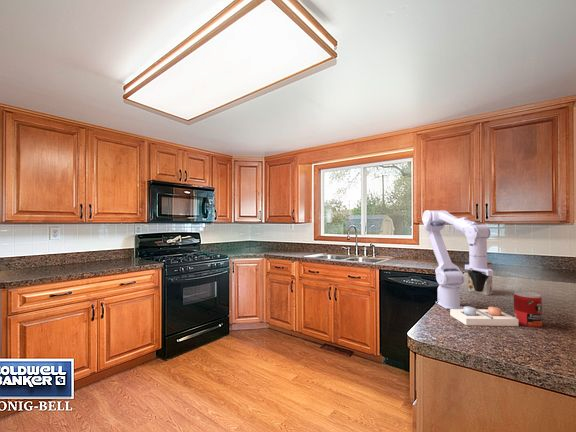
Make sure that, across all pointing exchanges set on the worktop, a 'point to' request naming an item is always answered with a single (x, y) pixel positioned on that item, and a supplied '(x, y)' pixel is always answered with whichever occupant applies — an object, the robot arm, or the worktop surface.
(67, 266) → the worktop surface
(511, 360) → the worktop surface
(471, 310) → the pale blue rounded piece
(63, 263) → the worktop surface
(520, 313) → the canned food
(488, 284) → the coffee box
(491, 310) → the orange rounded piece
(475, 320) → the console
